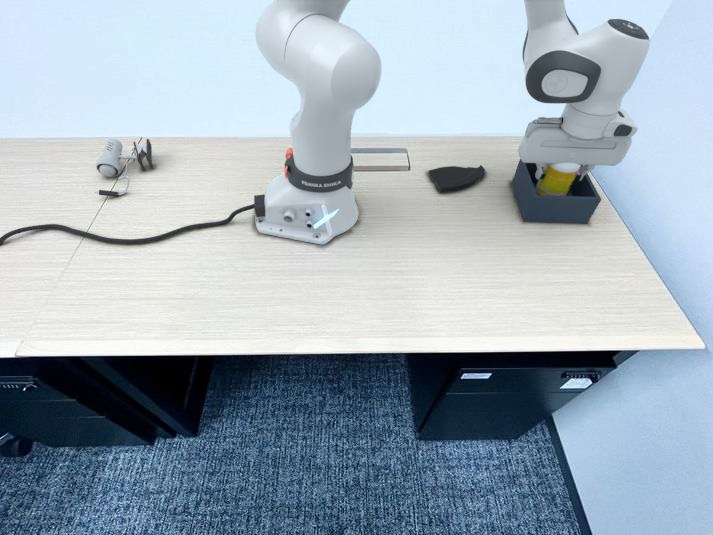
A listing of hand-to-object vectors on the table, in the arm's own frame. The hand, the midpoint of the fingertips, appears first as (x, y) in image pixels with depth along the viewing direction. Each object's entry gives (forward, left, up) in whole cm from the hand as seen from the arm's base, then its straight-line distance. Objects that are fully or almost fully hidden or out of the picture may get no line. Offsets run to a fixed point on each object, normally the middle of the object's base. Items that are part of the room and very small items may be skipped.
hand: (557, 178), depth 86 cm
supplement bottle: (0, 0, -5) cm, 5 cm away
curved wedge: (-20, +7, -7) cm, 22 cm away
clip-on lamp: (-100, +4, -7) cm, 100 cm away
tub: (0, 0, -7) cm, 7 cm away
